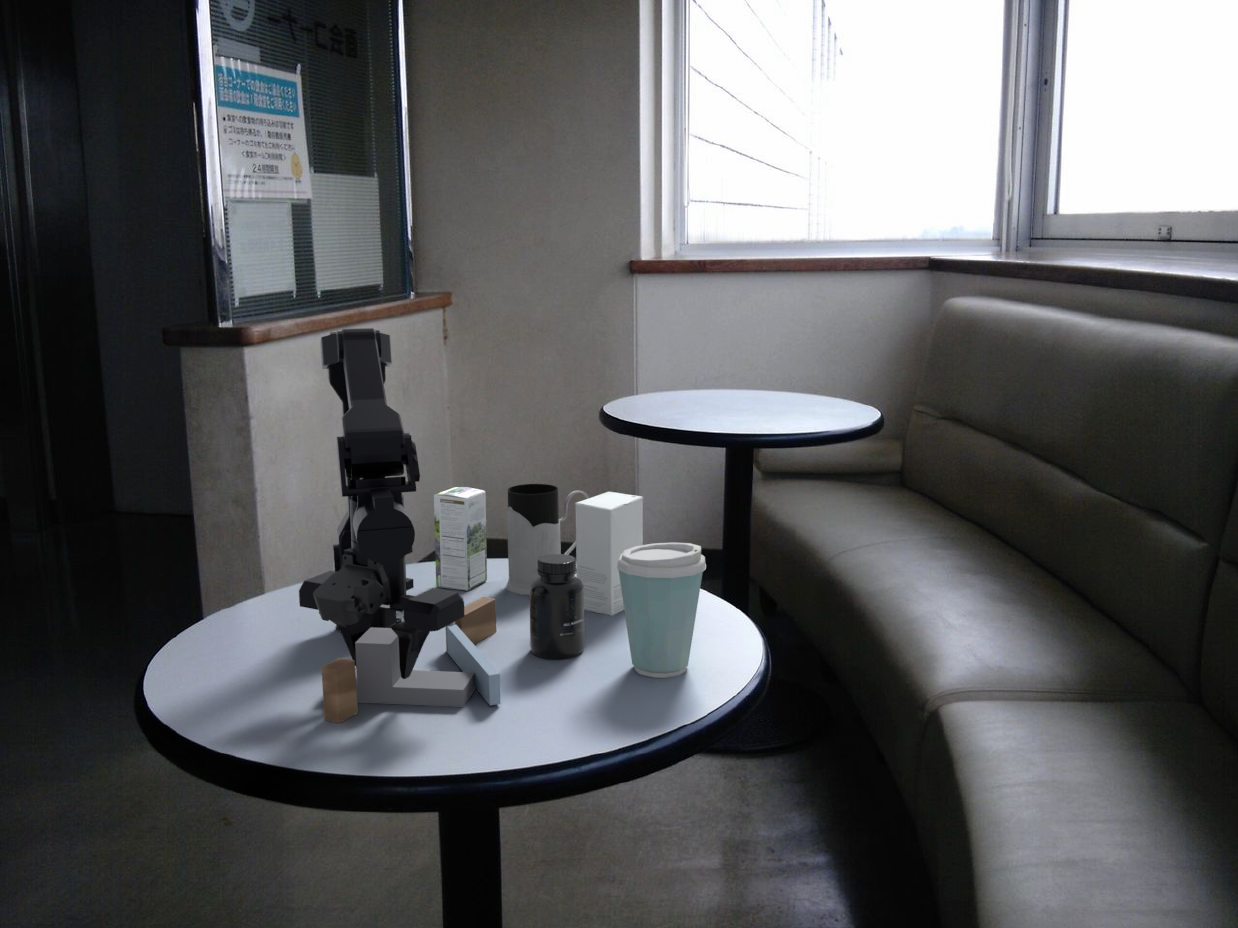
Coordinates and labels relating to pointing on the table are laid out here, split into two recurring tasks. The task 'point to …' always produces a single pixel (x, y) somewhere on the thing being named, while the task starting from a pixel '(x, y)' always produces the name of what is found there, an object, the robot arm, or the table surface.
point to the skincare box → (605, 546)
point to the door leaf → (473, 663)
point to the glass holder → (532, 531)
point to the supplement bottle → (556, 608)
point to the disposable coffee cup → (661, 604)
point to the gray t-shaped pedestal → (386, 686)
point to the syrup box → (460, 538)
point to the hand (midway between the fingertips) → (383, 672)
